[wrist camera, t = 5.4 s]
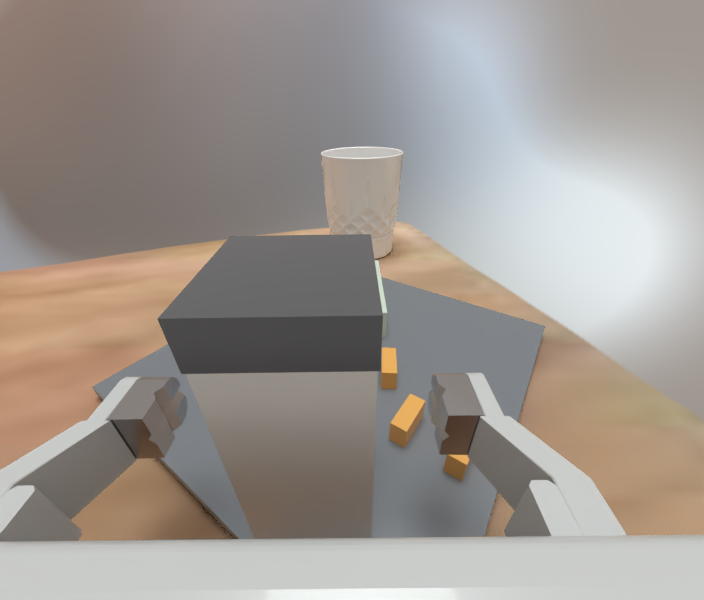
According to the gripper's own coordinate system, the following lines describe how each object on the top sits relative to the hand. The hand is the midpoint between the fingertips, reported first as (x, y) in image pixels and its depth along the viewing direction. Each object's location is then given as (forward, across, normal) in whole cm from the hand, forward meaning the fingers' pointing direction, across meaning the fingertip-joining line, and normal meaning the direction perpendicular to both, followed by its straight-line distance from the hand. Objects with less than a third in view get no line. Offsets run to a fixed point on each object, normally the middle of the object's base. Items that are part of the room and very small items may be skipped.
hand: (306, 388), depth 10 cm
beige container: (0, 0, +6) cm, 6 cm away
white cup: (+26, -3, +6) cm, 27 cm away
